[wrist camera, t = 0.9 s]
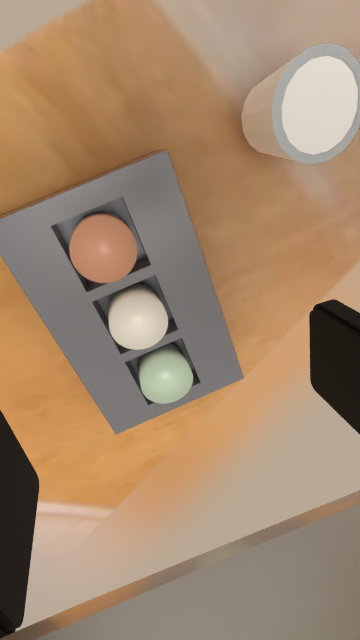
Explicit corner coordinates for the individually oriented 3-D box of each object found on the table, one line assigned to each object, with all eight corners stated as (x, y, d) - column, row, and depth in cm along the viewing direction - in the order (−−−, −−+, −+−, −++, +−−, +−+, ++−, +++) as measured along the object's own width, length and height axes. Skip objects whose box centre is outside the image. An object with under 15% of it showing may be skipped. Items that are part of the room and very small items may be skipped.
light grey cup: (325, 117, 30) (385, 108, 24) (267, 179, 31) (309, 186, 25) (279, 43, 27) (334, 11, 20) (217, 116, 28) (251, 106, 22)
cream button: (150, 275, 30) (155, 287, 27) (169, 320, 32) (176, 335, 29) (98, 297, 30) (98, 311, 27) (121, 341, 32) (124, 358, 29)
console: (158, 150, 28) (167, 149, 24) (230, 357, 38) (243, 378, 35) (-4, 217, 28) (-19, 226, 24) (114, 408, 38) (115, 434, 34)
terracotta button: (118, 201, 27) (120, 206, 24) (142, 257, 29) (147, 267, 26) (60, 225, 26) (56, 233, 24) (89, 279, 29) (88, 292, 26)
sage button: (175, 335, 33) (182, 351, 30) (192, 372, 35) (199, 390, 32) (129, 355, 33) (132, 373, 30) (148, 391, 35) (152, 411, 32)
